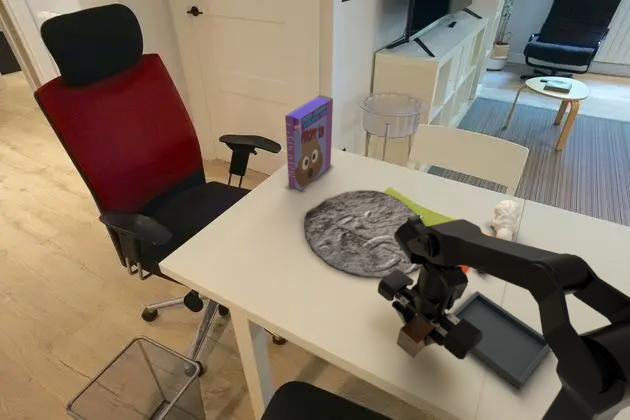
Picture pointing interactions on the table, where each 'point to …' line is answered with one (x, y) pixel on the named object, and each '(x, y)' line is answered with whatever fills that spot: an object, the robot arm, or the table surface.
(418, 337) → the brown rectangular block
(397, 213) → the ancient coin
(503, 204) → the white plaster bust
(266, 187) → the table surface
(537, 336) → the tray
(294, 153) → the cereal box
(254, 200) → the table surface
